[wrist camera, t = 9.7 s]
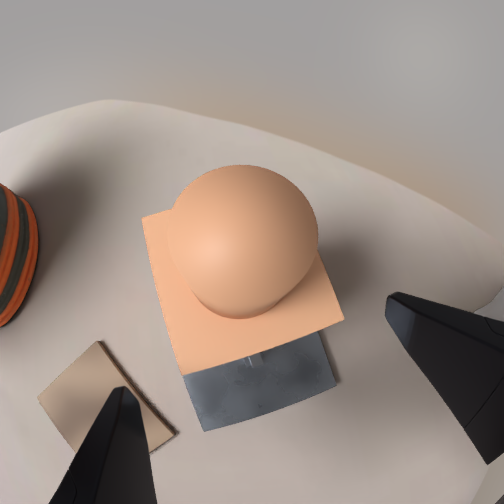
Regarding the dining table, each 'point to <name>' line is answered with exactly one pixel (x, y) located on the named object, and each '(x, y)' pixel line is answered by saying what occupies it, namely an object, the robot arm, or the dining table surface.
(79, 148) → the dining table surface
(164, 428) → the thin square tan tile
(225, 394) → the grey finned plate
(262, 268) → the arched stamp block
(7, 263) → the beer stein
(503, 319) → the lightbulb
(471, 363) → the robot arm
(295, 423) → the dining table surface
